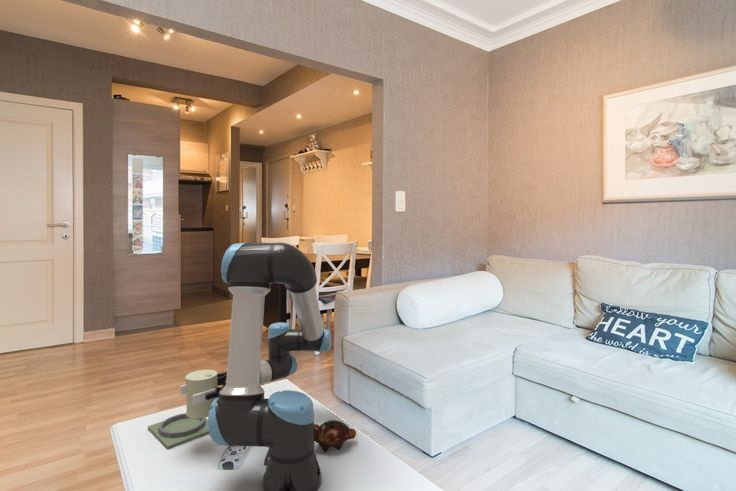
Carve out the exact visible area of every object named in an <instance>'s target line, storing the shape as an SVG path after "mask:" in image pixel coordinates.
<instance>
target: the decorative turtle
mask: <svg viewBox="0 0 736 491" xmlns="http://www.w3.org/2000/svg"><path fill="white" fill-rule="evenodd" d="M356 436H357V431H356V430H355V428H350V427H349V426H348V424H346V423H344V422H343V421H340V420H336V419H331V420H327V421H325V422H323V423H321V424H320V425H319V424H318V423H317V424H316V423H314V443H317V444H318V445H319V447H320V449H321V451H322V452H323V453H327V452H328V451H329V450H330V449H331V448H332V447H333V448H334V449H335V450H337V451H340V450H341V449H342V448H343V446H344V444H345V442H347V441H348V440H354V439H355V437H356Z"/></svg>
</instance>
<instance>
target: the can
mask: <svg viewBox="0 0 736 491" xmlns="http://www.w3.org/2000/svg"><path fill="white" fill-rule="evenodd" d="M217 374H219V373H218V371H217V370H215V369H209V368H208V369H199V370H195V371H191V372H189V373H187V374H186V375H185V384H186V394H185V396H186V397H185V398H186V402H185V404H186V407H185V408H186V411H185V413H186V416H187V417H189V418H194V419H198V418H205V417H206V418H208V415H209V410H211V409H210V406H211V404H212V402H213V401H214V400H215V399H216V398H217V397H216V398H214V399H211V400H208V401H205V402H202V403H198V404H195V405H193V395H194V394H198V393H201V392H204V391H208V390H211V389H214V388H215V389H216V387H218V386H217Z"/></svg>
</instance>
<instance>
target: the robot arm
mask: <svg viewBox="0 0 736 491" xmlns="http://www.w3.org/2000/svg"><path fill="white" fill-rule="evenodd" d="M220 273H221V279H222V281H223V282H224V283H225V284H227V285H228V286H227V290H228V291H229V292H230V293H231V294H232V305H231V307H232V308H231V317H230V331H229V342H228V343H229V344H228V355H227V367H226V368H227V369H226V371H225V372H224V371H223V372H220V373H218V374H217V387H216V389H215V388H214V389H211V390H208V391H204V392H201V393H198V394H194V395H193V405H195V404H198V403H202V402H205V401H208V400H211V399H214V398H216V397H217V398H216V399H215V400H214V401H213V402H212V404H211V406H210V409H211V410H209V415H208V417H207V420H208V428H209V433H210V434H209V436H210V438H211V440H212V442H213V443H214V444H215V445H218V446H226V447H230V448H234V447H250V448H251V447H253V448H255V447H259V448H262V447H263V448H268V452H269V454H268V455H269V456H268V461H267V465H266V467H265V472H264V474H263V476H262V477H263V478H262V491H319V490H318V489H320V487H321V484H322V471H321V467H320V464H319V461H318V459H317V456H316V453H315V441H314V424H315V417H316V416H315V413H314V412H315V411H314V409H315V408H314V404H313V401H312V399H311V397H310V396H308V394H306V393H303V392H301V391H298V390H297V391H296V390H290V389H288V390H287V389H284V390H282V391H281V390H278V391H275V392H273V393H271V394H270V396H269V398H266V397H265V389H264V388H263V387H262V386H264V385H265V384H267V383H271V382H275V381H278V380H280V379H286V378H288V377H290V376H292V375H294V374H295V373H296V372H297V370H298V362H297V357H296V356H295V355H293V354H292V353H291V352H328V351H329V350H331V346H332V332H331V330H330V329H325V328H324V326H323V321H322V316H321V310H320V305H319V300H318V295H317V291H316V285H317V281H318V278H317V272H316V269H315V267H314V265H313V264H312V262H311V260H310V259H309V257H308V256H307V255H306V254H305V253H304V252H303V251H302V250H300V249H299V248H297V247H296V246H294V245H293V244H289V243H286V242H247V241H246V242H242V243H241V242H240V243H239V242H238V243H233V244H231V245H230V246H229V247H228V248H227V249H226V250H225V253H224V255H223V257H222V261H221V267H220ZM272 284H281V285H282V284H283V285H284V286H285V289H286V290H287V291H288V292H290V295H291V299H292V303H293V306H294V310H295V314H296V318H297V321H298V325H299V329H297V328H292V329H291V326H290V324H289V323H287V322H283V321H281V322H280V321H279V322H274V323H271V324H270V325H269V326H268V331H267V333H268V334H267V346H268V347H267V348H268V359H265V360H262V361H261V359H262V347H263V346H262V345H263V343H262V342H263V330H264V328H263V327H264V316H265V315H264V312H265V298H266V296H267V294H268V293H270V292H271V289H272V288H271V287H272V286H271V285H272ZM179 394H180V396H183V395H186V383H185V384H183V385H180V386H179Z"/></svg>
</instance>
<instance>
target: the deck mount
mask: <svg viewBox="0 0 736 491" xmlns="http://www.w3.org/2000/svg"><path fill="white" fill-rule="evenodd" d="M147 430H148V431H149V432H150V433H151V434H152V435H153V436H154V437H155V438H156V439H157V440H158V442H160V444H162V445H163V446H164V448H165V449H166V450H170V449H174V448H176V447H178V446H181V445H183V444H186V443H188V442H192V441H194V440H197V439H200V438H202V437H204V436H208V435H210V433H209V428H208V418H207V417H205V418H198V419H194V418H189V417H187V416H186V412H183V413H178V414H175V415H173V416H170V417H168V418H166V419H164V420H163V421H160V422H159V421H158V422H157V423H154V424H151V425H148V426H147Z"/></svg>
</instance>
